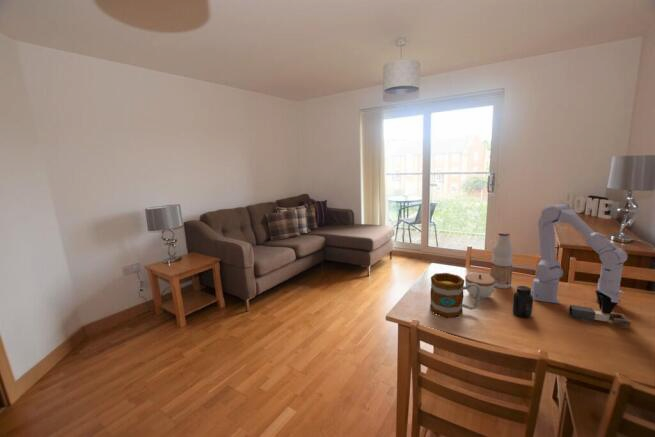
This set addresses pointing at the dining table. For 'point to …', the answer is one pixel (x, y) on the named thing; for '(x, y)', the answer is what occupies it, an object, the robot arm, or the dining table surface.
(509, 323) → the dining table surface
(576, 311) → the sleeve
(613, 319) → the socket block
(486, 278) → the lidded bowl
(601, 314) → the sliding bolt
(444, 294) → the mug
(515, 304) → the supplement bottle
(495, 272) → the fruit juice
